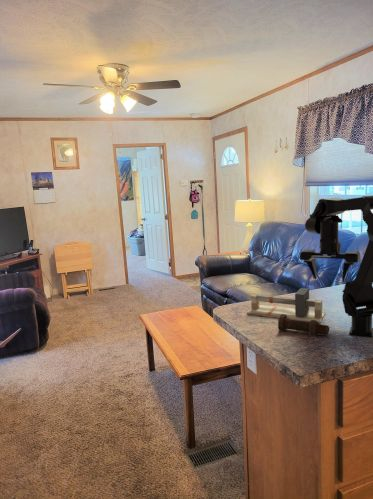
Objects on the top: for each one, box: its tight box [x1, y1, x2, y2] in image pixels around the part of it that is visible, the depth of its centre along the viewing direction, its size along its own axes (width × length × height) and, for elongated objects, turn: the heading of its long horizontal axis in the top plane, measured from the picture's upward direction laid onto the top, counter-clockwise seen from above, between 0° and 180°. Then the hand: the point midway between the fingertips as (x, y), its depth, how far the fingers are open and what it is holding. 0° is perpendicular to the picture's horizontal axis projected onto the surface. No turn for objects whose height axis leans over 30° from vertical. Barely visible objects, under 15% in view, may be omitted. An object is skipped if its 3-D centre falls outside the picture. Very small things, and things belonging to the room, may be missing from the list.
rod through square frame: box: [246, 293, 327, 324], centre depth 137 cm, size 10×26×6 cm, turn 60°
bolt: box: [277, 314, 330, 337], centre depth 119 cm, size 6×5×15 cm
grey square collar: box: [294, 287, 310, 317], centre depth 134 cm, size 8×3×8 cm, turn 150°
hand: (329, 280), depth 130 cm, fingers open, 9 cm apart
